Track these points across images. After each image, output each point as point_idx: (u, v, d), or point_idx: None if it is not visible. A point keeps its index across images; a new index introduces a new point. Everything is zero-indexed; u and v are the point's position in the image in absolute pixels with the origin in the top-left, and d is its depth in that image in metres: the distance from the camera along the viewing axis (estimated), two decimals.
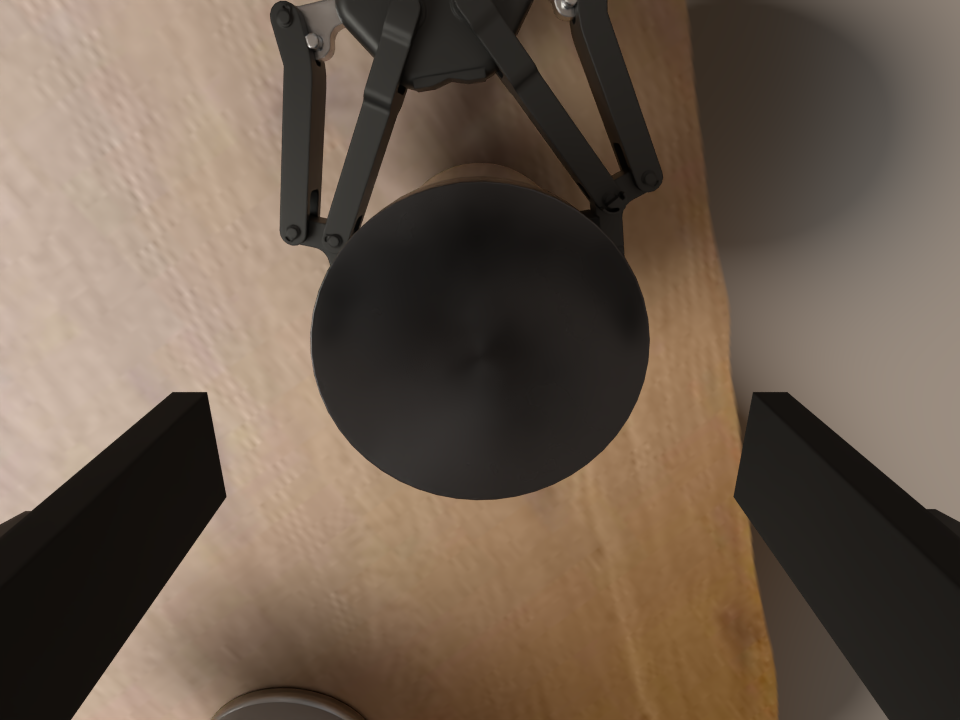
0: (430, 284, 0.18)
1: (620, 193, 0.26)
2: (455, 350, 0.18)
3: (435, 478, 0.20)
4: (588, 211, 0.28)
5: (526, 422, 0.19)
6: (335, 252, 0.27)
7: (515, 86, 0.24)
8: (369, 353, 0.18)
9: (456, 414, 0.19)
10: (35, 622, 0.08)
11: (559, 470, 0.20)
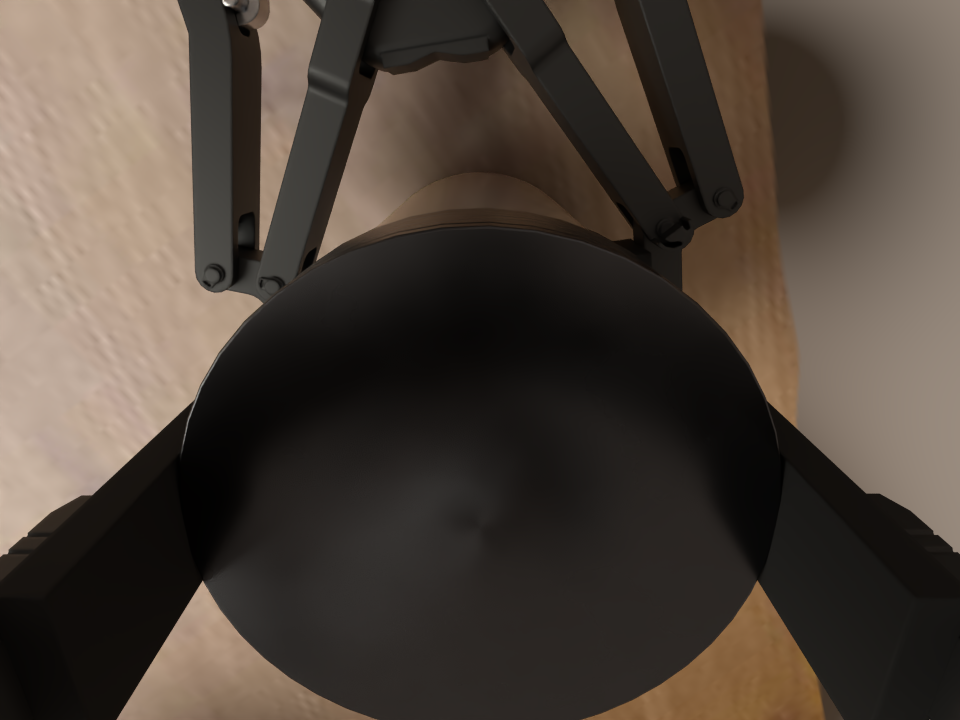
0: (390, 409, 0.10)
1: (682, 220, 0.18)
2: (437, 516, 0.10)
3: (406, 705, 0.12)
4: (630, 242, 0.20)
5: (559, 625, 0.11)
6: None
7: (533, 63, 0.16)
8: (285, 521, 0.10)
9: (440, 614, 0.11)
10: (105, 596, 0.08)
11: (612, 694, 0.12)
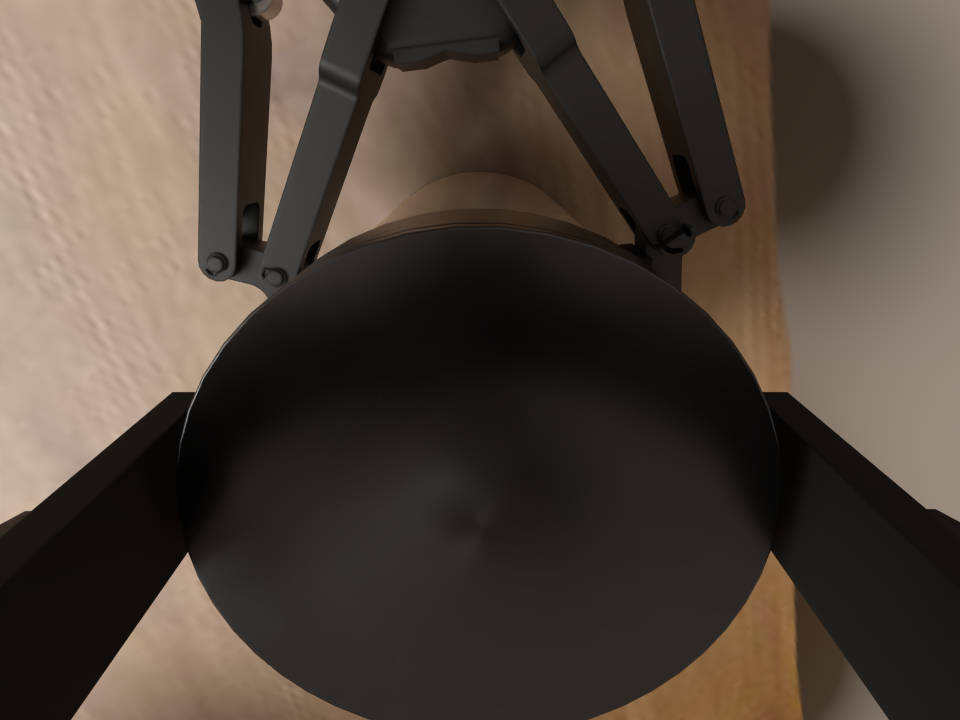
0: (350, 590, 0.11)
1: (684, 227, 0.18)
2: (464, 563, 0.11)
3: (710, 603, 0.11)
4: (631, 246, 0.21)
5: (617, 459, 0.10)
6: None
7: (543, 66, 0.17)
8: (465, 672, 0.12)
9: (585, 567, 0.11)
10: (35, 621, 0.08)
11: (738, 399, 0.10)
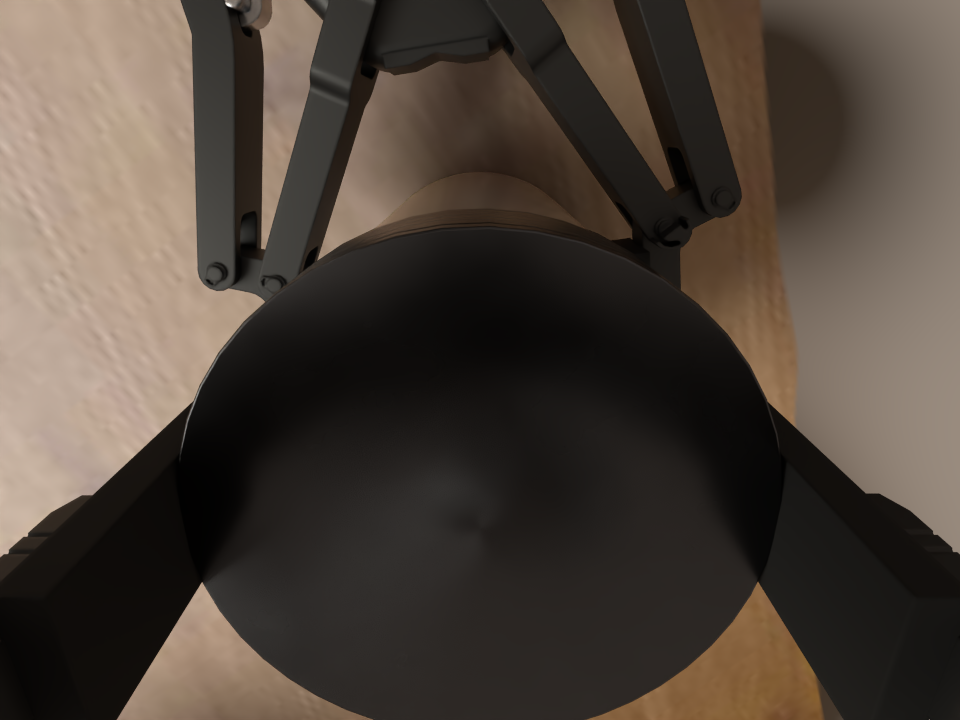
0: (354, 593, 0.11)
1: (680, 219, 0.18)
2: (466, 563, 0.11)
3: (715, 596, 0.11)
4: (629, 241, 0.21)
5: (615, 454, 0.10)
6: None
7: (533, 64, 0.17)
8: (472, 672, 0.12)
9: (588, 564, 0.11)
10: (105, 596, 0.08)
11: (734, 391, 0.09)
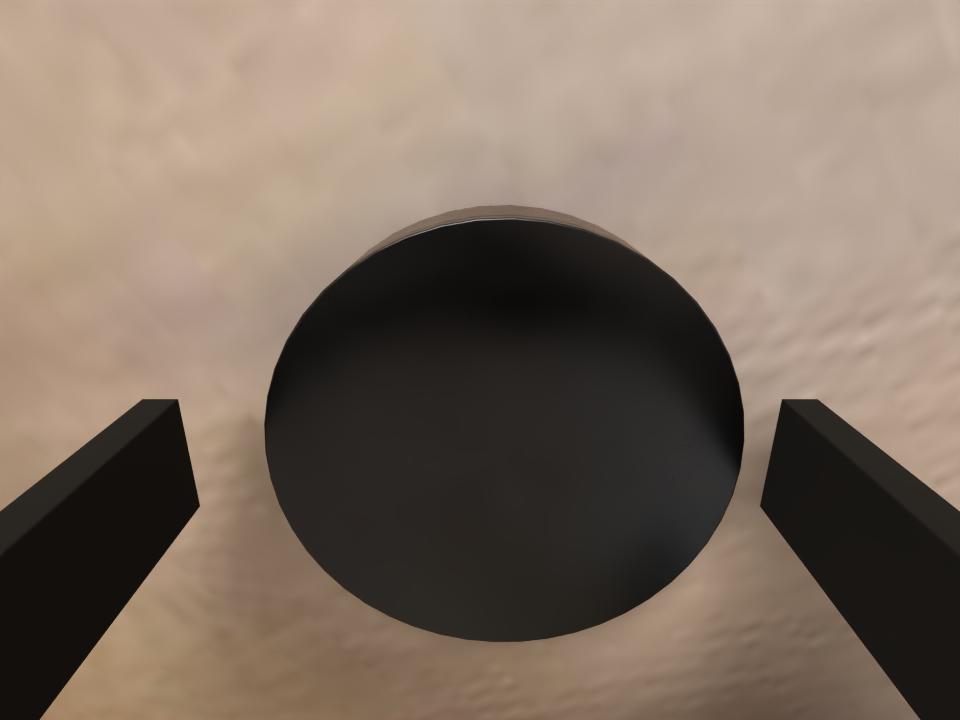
0: (400, 514, 0.14)
1: None
2: (490, 490, 0.13)
3: (692, 520, 0.14)
4: None
5: (609, 399, 0.12)
6: None
7: None
8: (493, 584, 0.14)
9: (588, 491, 0.13)
10: None
11: (703, 348, 0.12)
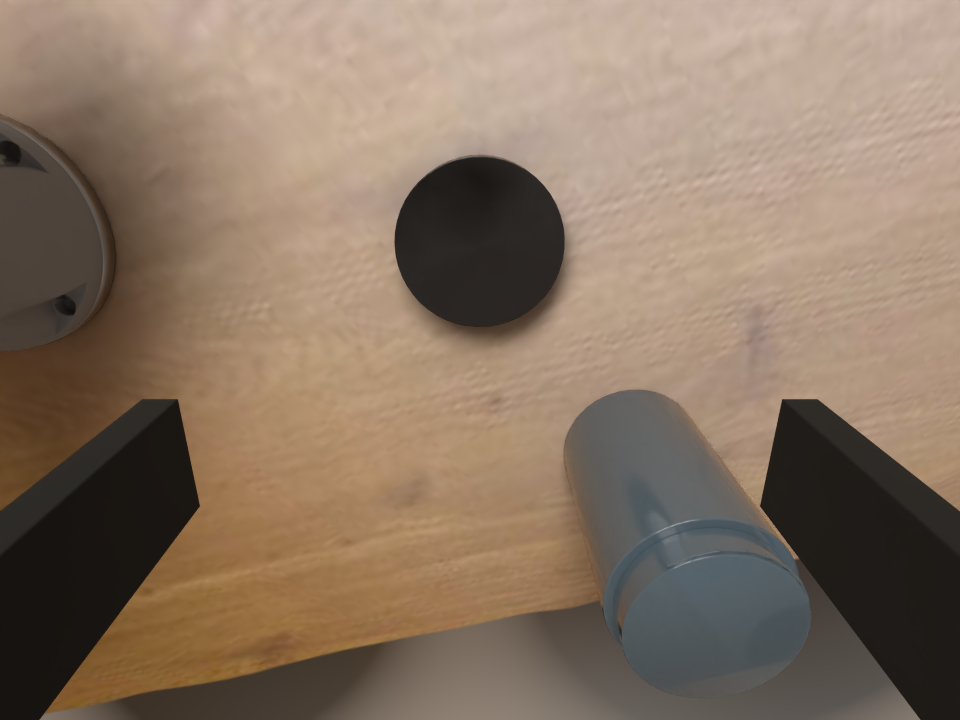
0: (442, 269, 0.37)
1: None
2: (475, 258, 0.37)
3: (549, 270, 0.37)
4: None
5: (516, 221, 0.36)
6: None
7: None
8: (477, 299, 0.38)
9: (511, 258, 0.37)
10: None
11: (547, 201, 0.36)
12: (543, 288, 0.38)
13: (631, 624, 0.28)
